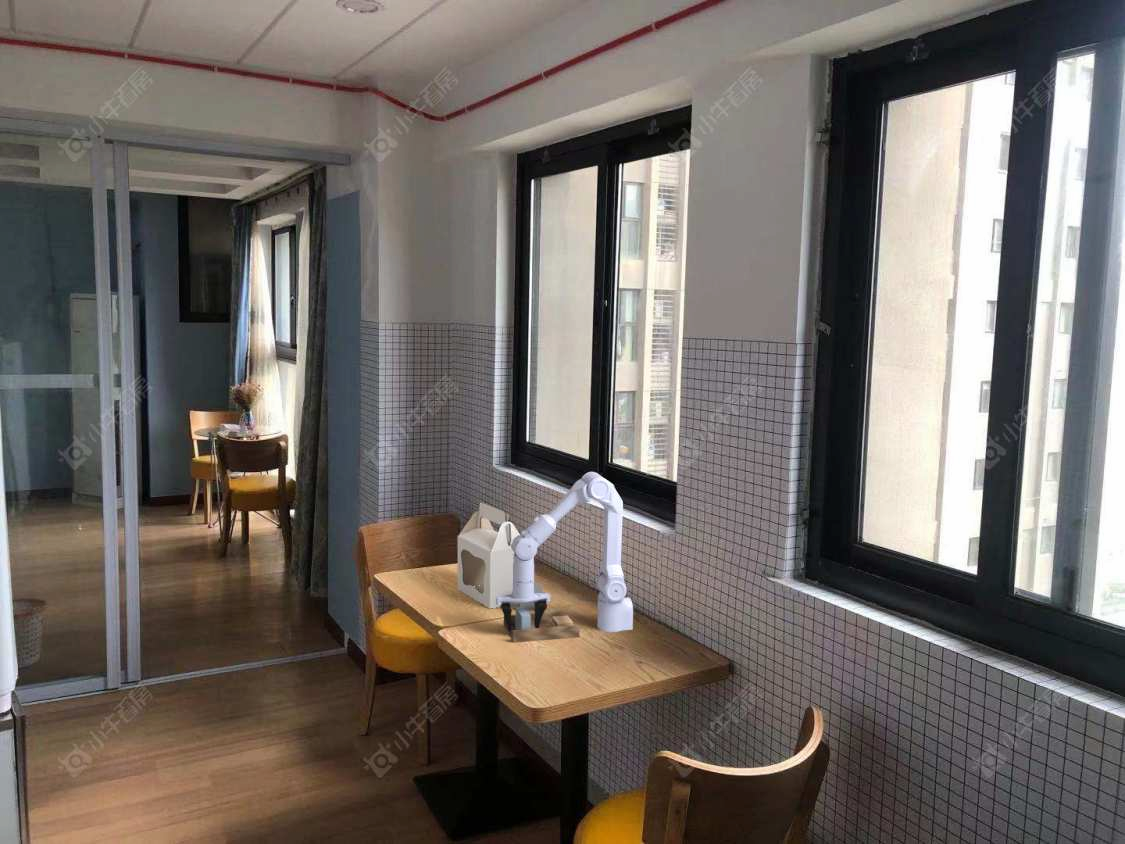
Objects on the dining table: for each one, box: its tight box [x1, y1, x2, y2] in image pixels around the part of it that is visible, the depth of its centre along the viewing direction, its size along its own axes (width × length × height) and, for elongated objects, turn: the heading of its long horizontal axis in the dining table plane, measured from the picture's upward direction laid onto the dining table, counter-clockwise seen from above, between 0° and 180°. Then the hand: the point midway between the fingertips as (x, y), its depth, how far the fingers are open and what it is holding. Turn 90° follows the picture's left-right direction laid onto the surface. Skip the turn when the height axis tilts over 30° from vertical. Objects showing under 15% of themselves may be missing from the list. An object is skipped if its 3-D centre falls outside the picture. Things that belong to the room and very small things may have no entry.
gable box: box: [457, 501, 521, 609], centre depth 279 cm, size 22×13×28 cm, turn 32°
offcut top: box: [552, 615, 574, 627], centre depth 249 cm, size 4×6×2 cm
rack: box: [503, 610, 581, 644], centre depth 248 cm, size 18×13×4 cm
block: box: [515, 607, 531, 630], centre depth 246 cm, size 2×8×6 cm, turn 15°
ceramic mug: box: [512, 582, 544, 614], centre depth 266 cm, size 11×8×8 cm
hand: (522, 628), depth 246 cm, fingers open, 7 cm apart
